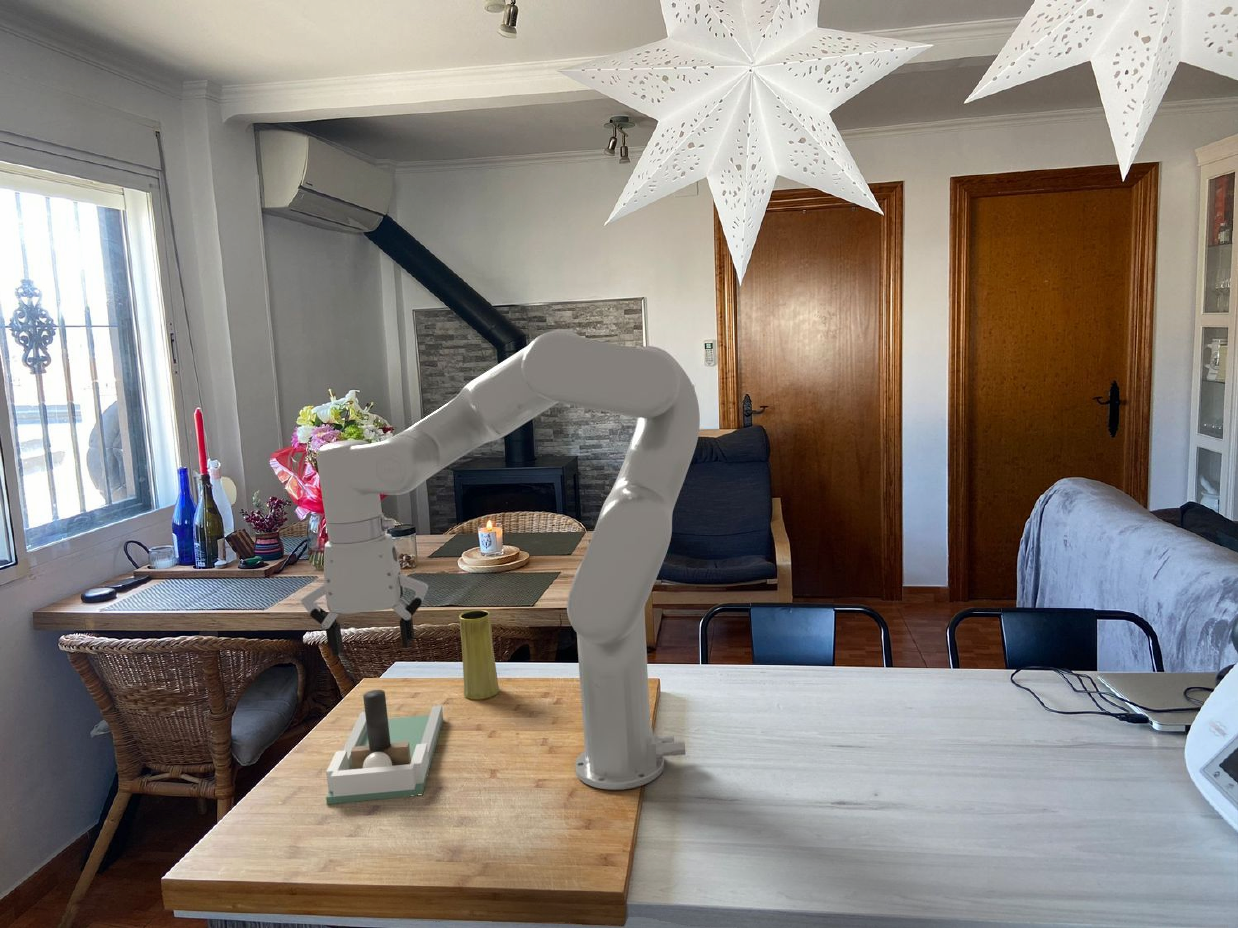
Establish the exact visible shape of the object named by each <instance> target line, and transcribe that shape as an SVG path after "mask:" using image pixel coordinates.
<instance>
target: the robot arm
mask: <svg viewBox="0 0 1238 928" xmlns="http://www.w3.org/2000/svg"><path fill="white" fill-rule="evenodd" d="M559 403H560V404H564V405H570V406H572V407H573V406H574V407H578V408H583V409H588V410H594V411H597V412H598V411H599V412H604V413H609V414H615V415H619V416H625V417H628V418H629V417H630V418H636V424H635V427H634V428H635V429H634V432H633V435H632V437H631V440H630V442H629V444H628V445H629V446H628V447H627V452H626V454H625V458H624V460H623V463H622V465H621V468H620V470H619V473H618V475H617V478H616V480H615V482H614V484H613V486H612V489H611V491H610V492H609V494H608V495H607V497H606V499H605V500H604V503H603V505H602V507H601V508H600V512H599V516H598V519H597V522H596V524H595V527H594V529H593V532H592V535H591V538H590V540H589V543H588V545H587V548H586V550H585V553H584V556H583V559H582V561H581V562H580V564H579V565H578V567H577V569H576V571H575V573H574V576H573V578H572V581H571V586H570V590H569V592H568V594H567V595H568V596H567V600H566V611H567V617H568V620H569V622H570V625H571V627H572V628H573V630H574V632H576V638H577V654H578V656H577V658H578V673H579V686H580V687H579V690H580V700H581V701H580V703H581V715H582V716H581V717H582V725H583V726H582V728H583V729H582V730H583V739H584V740H583V741H584V744H583V745H584V751H582V753H580V754H579V755H578V757H577V758H576V759H575V763H574V766H575V769H574V770H575V774H576V777H578V779H579V780H581V782H583V783H584V784H586V785H588V786H590V787H593V788H597V789H601V790H602V789H603V790H609V791H610V790H611V791H617V790H618V791H619V790H627V789H634V788H638V787H641V786H644V785H646V784H649V783H650V782H652V781H654V780H656V779H657V778H658V777H659V776H660V775H661V773H663V771H664V768H665V759H664V758H665V757H667V756H668V757H669V756H672V757H673V756H674V757H676V756H677V757H678V756H685V755H686V744H685V741H684V740H679V741H678V740H676V741H675V736H674V735H666V736H659V737H658V735H657V734H656V735H654V730H653V727H652V726H651V725H652V724H651V708H650V692H649V678H648V677H649V675H648V654H647V653H648V652H647V635H646V633H647V632H646V615H645V607H646V604H647V603H648V599H649V596H650V595H651V592H652V589H653V588H654V585H655V582H656V580H657V578H658V575H659V573H660V570H661V568H662V566H663V563H664V560H665V558H666V556H667V552H668V549H669V546H670V543H671V538H672V532H673V511H674V509H675V505H676V503H677V500H678V498H679V494H680V491H681V489H682V487H683V486H684V485H683V484H684V482H685V479H686V475H687V473H688V470H689V467H690V465H691V462H692V459H693V457H694V454H695V450H696V447H697V444H698V443H697V442H698V439H699V435H700V428H701V427H700V425H701V424H700V423H701V417H700V405H699V400H698V396H697V393H696V390H695V387H694V385H693V383H692V381H691V379H690V377H689V376H688V374H687V373H686V371H685V369H684V368H683V367H682V366H681V365H680V364H679V362H678V361H677V360H676V359H675V358H674V356H672V355H671V354H670V353H669V352H668V351H666V350H665V349H663V348H659V347H656V346H653V345H652V346H651V345H644V346H640V347H631V346H625V345H620V344H614V343H609V342H604V341H600V340H599V341H598V340H593V339H590V338H584V337H582V336H580V335H579V334H578V333H576V332H573V331H571V330H567V329H556V330H555V329H554V330H550V331H549V332H548V331H547V332H544V333H542V334H539V336H537V337H535V338H534V339H533V340H532V341H531V342H530V343H529V344H528V345H527V346H525V347H524V348H523V347H522V349H520V350H519V351H518V352H516V353H514V354H512V355H511V356H509V357H508V358H507V359H504V360H503V361H501V362H500V363H498V364H497V365H495V366H494V367H492V368H490V369H488V370H487V371H486V372H483V374H481V375H478V376H477V377H475V378H474V379H473V380H471V381H470V382H468V383H467V384H466V385H465V386H464V387H463V388H462V389H461V390H460V392H459V393H458V394H457V395H456V396H455V397H454V398H453V399H452V400H450V401H449V402H448V403H446V404H444V405H443V406H441V407H440V408H439V409H437V410H435V411H433V412H432V413H431V414H429V415H427V416H426V417H424V418H423V419H421V420H420V421H418V422H416V423H414V424H413V425H412V426H410V427H408V428H407V429H404V430H403V431H401V432H399V433H397V434H395V435H393V436H391V437H389V438H386V439H384V440H382V441H378V442H374V443H373V442H372V443H370V442H368V441H367V440H363V439H348V440H340V441H334V442H330V443H325V444H324V445H322V446H320V448H318V450H317V453H316V462H317V463H316V465H317V470H318V471H317V472H318V476H319V482H320V483H319V485H320V490H321V497H322V504H323V510H324V517H325V519H324V520H325V525H326V531H327V537H328V540H327V541H326V542H325V543H324V551H323V576H324V577H323V578H324V579H323V580H324V583H323V584H320V586H318V587H316V588H315V589H313V590H312V591H311V592H309V593H308V594H306V595H304V596H303V597H302V599H301V600H300V602H301V604H302V606H303V607H304V609H306V611H307V612H308V613H309V615H310V617H311V619H313V620H314V621H316V622H318V623H319V624H320V625H321V626H322V628H323V629H325V633H326V640H327V646H328V649H331V651H332V655H333V657H335V656H338V655H340V654H341V652H342V650H343V649H344V644H343V637H342V636H343V635H342V631H341V629H342V628H341V624H340V622H339V620H337V618H338V616H339V615H347V614H358V613H365V612H375V611H383V610H384V611H386V610H390V609H391V610H392V611H394V612H395V613H396V614H397V615H398V616H400V621H399V628H400V629H399V630H400V636H401V643H402V644H401V645H402V647H403V648H404V649H407V648H409V647H410V645H411V642H412V640H414V639H415V627H414V622H413V615H414V614H415V613H416V612H417V610H418V609H420V607H421V605H422V604H423V601H424V600H425V599H424V598H425V596H426V594H427V591H428V589H429V585H428V584H427V583H426V582H423V581H422V580H419V579H416V578H412V577H411V576H407V575H404V574H402V569H401V565H400V559H399V555H398V551H397V547H396V545H395V541H394V539H393V536H392V534H391V533H386V531H387V530H390V529H394V528H395V520H394V518H388V517H385V516H384V513H383V511H382V510H383V509H382V501H381V495H389V496H399V495H404V494H407V493H411V492H412V491H413V490H415V489H416V488H417V487H419V486H420V485H421V484H422V483H424V482H425V481H426V480H428V479H430V478H431V477H432V476H434V475H435V474H437V473H438V472H440V471H441V470H443V469H444V468H446V467H448V466H449V465H451V464H452V463H454V462H455V461H457V460H459V459H460V458H463V456H466V455H467V454H468V453H470V452H472V451H473V450H476V449H477V448H479V447H481V446H483V445H485V444H486V443H490V442H494V441H498V440H500V439H501V438H503V437H505V436H507V435H509V434H511V433H512V432H514V431H515V430H516V429H518V428H520V427H522V426H523V425H525V424H526V423H528V422H529V421H531V420H532V419H534V418H536V417H537V416H539V415H541V414H542V413H544V412H545V411H547V410H548V409H550V408H552V407H553V406H555V405H556V404H559ZM405 588H406V589H409V590H411V591H413V592H414V593H415V594H414V598H413V599H412V600H411V601H410V603H409V602H408V601H407V600H406V599H405V598H403V597H404V596H405ZM323 596H325V602H326V605H327V609H328V611H329V612H327V611H326V610H324V609H323V608H321V606H319V605H318V603H317V600H319V599H321V598H322V597H323Z"/></svg>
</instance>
